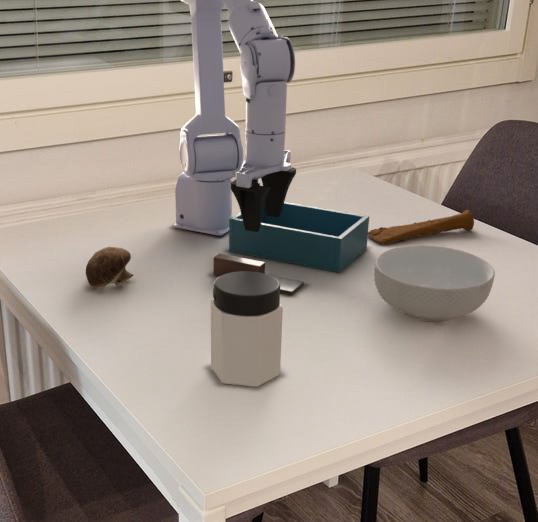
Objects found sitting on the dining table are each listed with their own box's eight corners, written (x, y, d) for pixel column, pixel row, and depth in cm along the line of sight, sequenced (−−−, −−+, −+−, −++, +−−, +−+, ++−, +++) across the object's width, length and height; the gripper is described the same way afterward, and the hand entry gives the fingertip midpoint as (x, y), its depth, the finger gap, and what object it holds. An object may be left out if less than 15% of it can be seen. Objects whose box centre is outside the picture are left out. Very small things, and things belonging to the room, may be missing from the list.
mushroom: (152, 261, 145) (125, 230, 142) (128, 297, 141) (99, 265, 138) (120, 273, 151) (93, 243, 148) (96, 308, 147) (68, 278, 144)
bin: (228, 251, 159) (228, 218, 156) (261, 229, 168) (262, 197, 165) (338, 272, 152) (341, 239, 149) (366, 248, 162) (369, 216, 159)
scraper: (209, 278, 149) (209, 259, 147) (223, 268, 152) (223, 250, 151) (291, 295, 144) (292, 276, 142) (304, 285, 147) (304, 266, 146)
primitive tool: (380, 244, 163) (382, 224, 161) (365, 234, 167) (366, 214, 165) (476, 233, 169) (479, 213, 167) (459, 223, 173) (461, 204, 172)
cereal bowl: (414, 344, 131) (420, 295, 127) (349, 300, 143) (352, 254, 139) (511, 322, 137) (520, 275, 133) (441, 282, 150) (447, 238, 146)
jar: (243, 350, 128) (245, 264, 121) (291, 370, 123) (296, 281, 117) (197, 373, 122) (196, 284, 115) (246, 394, 118) (248, 303, 111)
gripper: (269, 145, 131) (266, 241, 138) (310, 123, 142) (306, 213, 149) (223, 138, 133) (223, 233, 141) (267, 117, 144) (265, 206, 152)
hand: (262, 223), depth 145 cm, fingers open, 7 cm apart
